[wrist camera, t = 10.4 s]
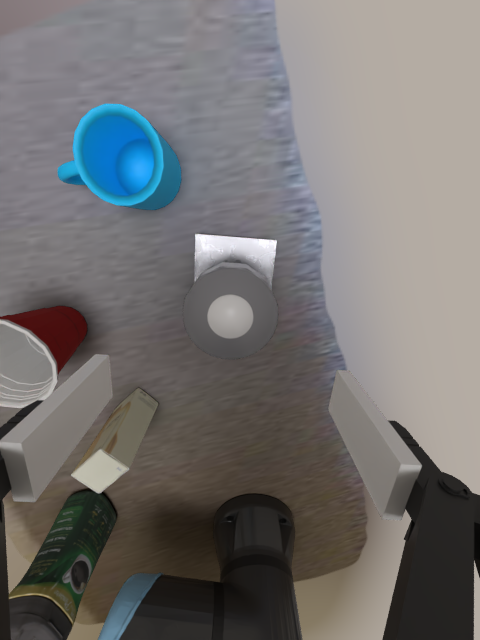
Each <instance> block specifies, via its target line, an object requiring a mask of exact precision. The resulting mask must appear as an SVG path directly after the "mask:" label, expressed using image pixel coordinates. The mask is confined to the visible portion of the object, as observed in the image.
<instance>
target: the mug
mask: <svg viewBox="0 0 480 640" xmlns="http://www.w3.org/2000/svg"><path fill="white" fill-rule="evenodd" d="M73 153H74V159H75V160H73V161H70V162H67V163H64V164H62V165H61V166H59V167H58V177H59V179H60V180H61V181H63V182H65V183H68V184H75V185H87V186H88V188H89V189H90V190H91V191H92V192H93V193H94V194H96V195H97V196H98V197H100V198H101V199H103V200H104V201H107V202H109V203H112V204H115V205H118V206H125V207H131V208H137V209H144V210H156V209H159V208H162V207H165V206H166V205H168V204H169V203H170V202H171V201H173V199H174V198H175V196H176V194H177V193H178V191H179V187H180V183H181V167H180V164H179V161H178V158H177V156H176V154H175V153H174V151H173V150H172V148H171V147H170V146H169V144H168V143H167V142H166V141H165V140H164V139H163V138H162V136H161V135H160V134H159V133H158V132H157V131H156V130H155V128H154V127H153V126H152V125H151V124H150V123H149V122H148V121H147V120H146V119H145V118H144V117H143V116H141V115H140V114H139V113H138V112H137V111H135V110H134V109H131V108H129V107H126V106H124V105H121V104H103V105H101V106H98V107H95V108H93V109H91V110H90V111H89V112H88V113H87V114H86V115H85V116H84V117H83V118H82V119H81V120H80V123H79V125H78V127H77V129H76V131H75V134H74V142H73Z"/></svg>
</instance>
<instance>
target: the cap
mask: <svg viewBox="0 0 480 640" xmlns="http://www.w3.org/2000/svg"><path fill="white" fill-rule="evenodd" d="M183 322H184V326H185V329H186V332H187V334H188V336H189V337H190V339H191V340H192V341H193V342H194V344H195V345H196V346H197V347H199V348H200V349H201V350H202V351H204V352H205V353H207V354H209V355H211V356H214V357H217V358H221V359H240V358H245V357H248V356H250V355H252V354H254V353H256V352H258V351H259V350H261V349H262V348H263V347H264V346H265V345H266V344H267V343H268V342H269V340H270V339H271V337H272V336H273V334H274V332H275V329H276V326H277V322H278V304H277V302H276V300H275V297H274V295H273V293H272V291H271V288H270V286H269V284H268V282H267V280H266V278H265V277H264V276H263V275H261V274H260V273H258V272H257V271H256V270H254V269H253V268H251V267H250V266H248V265H247V264H241V263H228V262H222V263H220V264H218V265H216V266H214V267H212V268H210V269H208V270H206V271H203V272H202V273H201V274H200V275H199V277H198V278H197V280H196V281H195V283H194V284H193V286H192V287H191V289H190V290H189V292H188V294H187V295H186V297H185V301H184V305H183Z"/></svg>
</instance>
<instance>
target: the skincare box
mask: <svg viewBox="0 0 480 640" xmlns="http://www.w3.org/2000/svg"><path fill="white" fill-rule="evenodd" d="M158 404H159V403H158V402H156V401H155V400H154V399H153V398H152V397H150V396H149V395H148V394H147V393H145V392H144V391H143V390H141V389H140V388H137V389H136V390H135V391H134V392H132V393H131V394H130V395H129V396H128V397H127V398H126V399H125V400H124V401H123V402H122V403H121V404H120V405H119V406H118V407H117V408H116V409H115V410H114V411H113V413H112V414H111V416H110V417H109V419H108V420H107V422H106V424H105V425H104V427H103V428H102V429H101V431H100V432H99V434H98V436H97V437H96V439H95V440H94V441H93V443H92V444H91V446H90V448H89V449H88V451H87V452H86V454H85V455H84V456H83V458H82V459H81V461H80V462H79V464H78V465H77V467H76V468H75V470H74V471H73V473H72V474H71V476H72V477H74V478H75V479H77V480H78V481H80V482H81V483H83V484H84V485H86V486H87V487H89V488H90V489H92V490H93V491H95V492H96V493H101V492H102V491H103V490H105V489H106V488H107V487H108V486H109V485H111V484H112V483H113V482H115V481H116V480H117V479H118V478H119V477H120V476H122V475H123V474H124V473H125V472H126V471H128V470H129V469H130V466H131V464H132V462H133V460H134V457H135V455H136V453H137V451H138V449H139V446H140V444H141V442H142V440H143V438H144V435H145V433H146V431H147V429H148V426H149V424H150V422H151V420H152V418H153V415H154V413H155V411H156V409H157V407H158Z"/></svg>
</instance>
